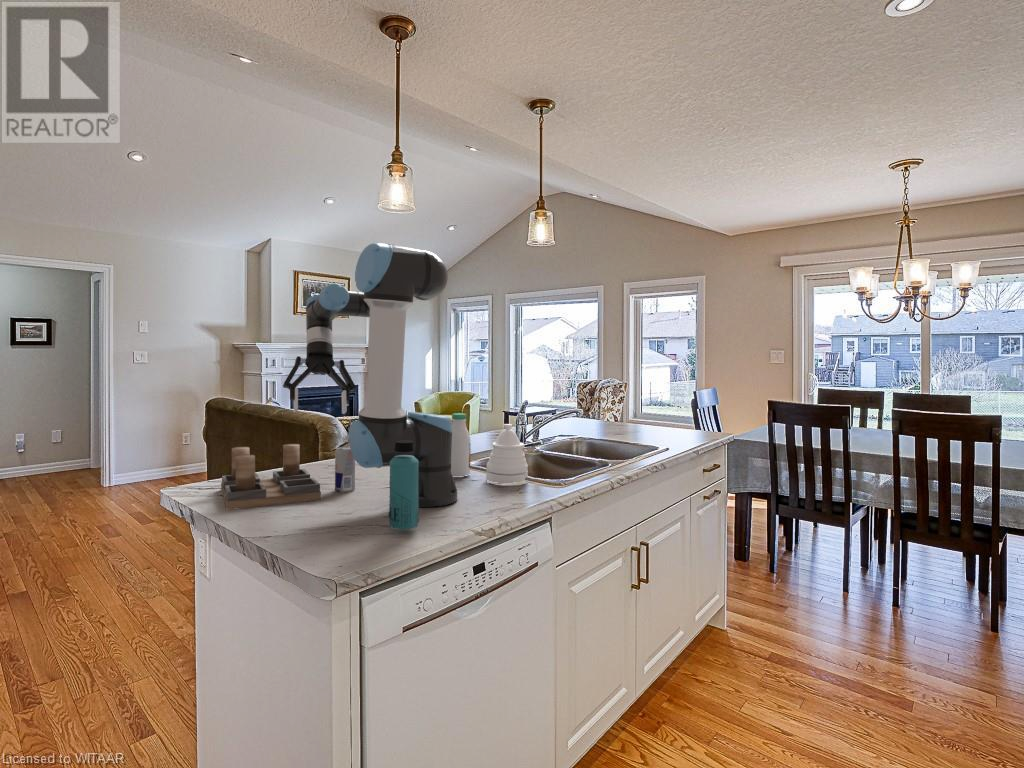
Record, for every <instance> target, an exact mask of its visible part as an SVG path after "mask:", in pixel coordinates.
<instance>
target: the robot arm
mask: <svg viewBox="0 0 1024 768" xmlns="http://www.w3.org/2000/svg"><path fill="white" fill-rule="evenodd" d="M354 272H355V273H354V282H355V286H356V289H357V290H358V291H354V290H353V291H351V290H347V288H346V287H345V286H344V285H341V284H339V283H337V282H336V283H335V282H334V283H333V282H332V283H329V284H327V285H326V286H325V287H324V288H323V289H322V290H321V291H320V292H319V294H318V295H313V296H310V297H308V299H306V306H305V313H306V315H305V318H306V319H305V320H306V322H305V324H306V329H305V331H306V358H303V357H302V358H301V356H296V358H295V361H294V365H293V367H292V369H291V371H290V372H289V374H288V375H287V377H286V379H285V381H284V382H283V383H282V388H284V389H288V390H289V400H290V401H293V413H298V410H299V387H298V386H299V385H300V384H301V383H303V381H304V380H305V379H306V378H307V377H308V376H309V375H310V374H311V373H312V374H313V375H321V376H325V375H327V376H328V377H329V378H331V379H332V380H333V382H335V384H336V385H337V386H338V387H339V388H340V389H341V390H342V392H341V394H340V395H341V414H343V415H345V414H346V413H347V411H348V409H347V407H348V405H347V403H350V399H351V398H350V397H351V395H350V393H351V392H354V390H355V389H356V385H355V383H354V381H353V379H352V378H351V377H352V376H351V375H350V373H349V372H348V370H347V368H346V366H345V361H344V359H340V360H339V361H337V360H334V352H333V351H334V350H333V349H334V348H333V347H334V346H333V342H334V341H333V339H334V338H333V320H334V319H335V318H336V317H338V316H343V317H344V316H345V317H360V318H361V317H363V318H369V321H368V322H369V323H368V343H367V345H368V346H367V366H366V367H367V368H366V370H367V371H366V387H365V388H366V389H365V390H366V391H365V404H364V405H365V406H364V407H363V408H362V409H360V410H359V411H358V419H357V420H354V421H352V422H351V424H350V425H349V429H348V444H349V445H348V446H349V447H350V449H351V452H352V454H353V457H354V459H355V463H357V464H358V466H360V467H362V468H365V469H371V468H374V469H375V468H376V469H380V468H382V467H383V468H384V467H390V461H391V460H392V459H393V458H394V457H395V456H398V455H412V456H414V457H415V458H416V459H417V460H418V461H419V464H418V489H419V490H418V505H419V507H418V508H435V507H434V506H439V507H443V506H442V505H445V506H448V505H447V504H450V503H452V504H454V503H453V502H455V501H456V500H457V501H458V495H459V494H458V492H459V491H458V489H457V486H456V483H455V479H454V478H455V477H453V475H452V471H451V462H452V434H453V432H452V424H453V421H452V418H450V417H449V416H446V415H443V414H442V415H440V414H435V413H426V412H416V411H410V412H408V413H407V411H405V409H403V408H402V399H403V398H402V397H403V395H402V394H403V381H404V380H403V377H404V356H405V340H406V320H407V319H406V318H407V310H408V309H409V308H410V307H411V306H412V305H413V304H414V302H415V301H418V300H419V301H430V300H432V299H433V298H436V297H437V296H439V295H441V293H443V291H445V289H446V286H447V285H448V280H449V279H448V278H449V277H448V276H449V274H448V270H447V267H446V264H445V263H444V261H443V260H442V259H441V258H440V257H439V256H438V255H437V254H435V253H434V252H431V251H429V250H425V249H419V248H418V249H417V248H413V247H407V246H402V245H396V244H390V243H377V242H374V243H370V244H368V245H367V246H365V247H364V249H363V250H362V252H361V253H360V255H359V257H358V259H357V263H356V266H355V271H354ZM303 364H304V365H305V366H306V367H307V368H306V369H305V370H304V371H303V372H302V373H301V374H300V375H299V376H298V377H297V378H296V379H295V380H294V381H293V382H292V383H291V381H292V379H293V378H294V376H295V374H296V373H297V372H298V369H299V367H301V366H303ZM334 366H335V367H336V369H337V370H338V371H339V373H340V375H341V376H340V375H339V374H338V373H337V372H336V370H335V368H333V367H334ZM342 378H343V379H342ZM401 440H408V441H413V444H414V451H411V452H397V451H395V442H396V441H401ZM457 501H456V502H457ZM456 502H455V503H456ZM450 505H451V504H450Z"/></svg>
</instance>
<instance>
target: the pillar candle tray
mask: <svg viewBox="0 0 1024 768" xmlns="http://www.w3.org/2000/svg"><path fill="white" fill-rule="evenodd" d="M300 446H301V444H299V443H288V444H282V470H275V471H272V477H271V478H260V477H259V475H258V473H257V472H256V455H255V454H251V453H250V447H249V446H237V447H232V448H231V474H227V475H225V474H224V475H222V476H221V482H220V490H221V494H223V495H222V497H223V502H224V501H225V502H224V505H225V508H227V509H230V510H236V509H235V508H239V509H247V508H255V507H264V506H273V505H282V504H291V503H292V502H293V503H302V502H308V501H309V500H311V501H318V500H317V499H320V500H322V491H321V484H320V483H319V482H318V480H316V479H315V478H314V477H311V474H310V473H309V472H308V471H307V470H306V469H305V468H300V467H301V466H300V460H301V459H300V457H301V456H300V453H301V449H300ZM301 501H302V502H301ZM309 502H310V501H309ZM227 509H226V510H227Z"/></svg>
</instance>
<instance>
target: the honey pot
mask: <svg viewBox="0 0 1024 768" xmlns="http://www.w3.org/2000/svg"><path fill="white" fill-rule="evenodd" d="M512 427H513V423H504V424H503V428H504V429H503V430H501V432H500V433H499V435H498V436H497V438H496V440H495V441H494V442H492V444H491V445H492V450H491V453H489V458H488V462H487V463H486V473H485V474H486V476H485V480H486V479H487V480H489V481H492V482H498V483H513V482H520V481H523V480H525V478H526V477H528V478H529V469H528V467H529V465H528V463H527V458H526V455H525V453H524V450H523V448H524V447H525V445H526V444H525V443H523V442H521V441H520V439H519V437H518V435H517V433H516V432H515V431H514V430H513V429H512Z"/></svg>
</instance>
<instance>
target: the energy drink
mask: <svg viewBox="0 0 1024 768" xmlns="http://www.w3.org/2000/svg"><path fill="white" fill-rule="evenodd" d="M334 459H335V460H334V462H335V463H334V491H336V492H337V491H339V492H338V493H343V492H344V493H349V492H348V491H351V492H354V491H355V490H356V460H355V459H354V457H353V454H352V452H351V449H350V446H337V447H336V448H335V451H334ZM353 490H354V491H353Z"/></svg>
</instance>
